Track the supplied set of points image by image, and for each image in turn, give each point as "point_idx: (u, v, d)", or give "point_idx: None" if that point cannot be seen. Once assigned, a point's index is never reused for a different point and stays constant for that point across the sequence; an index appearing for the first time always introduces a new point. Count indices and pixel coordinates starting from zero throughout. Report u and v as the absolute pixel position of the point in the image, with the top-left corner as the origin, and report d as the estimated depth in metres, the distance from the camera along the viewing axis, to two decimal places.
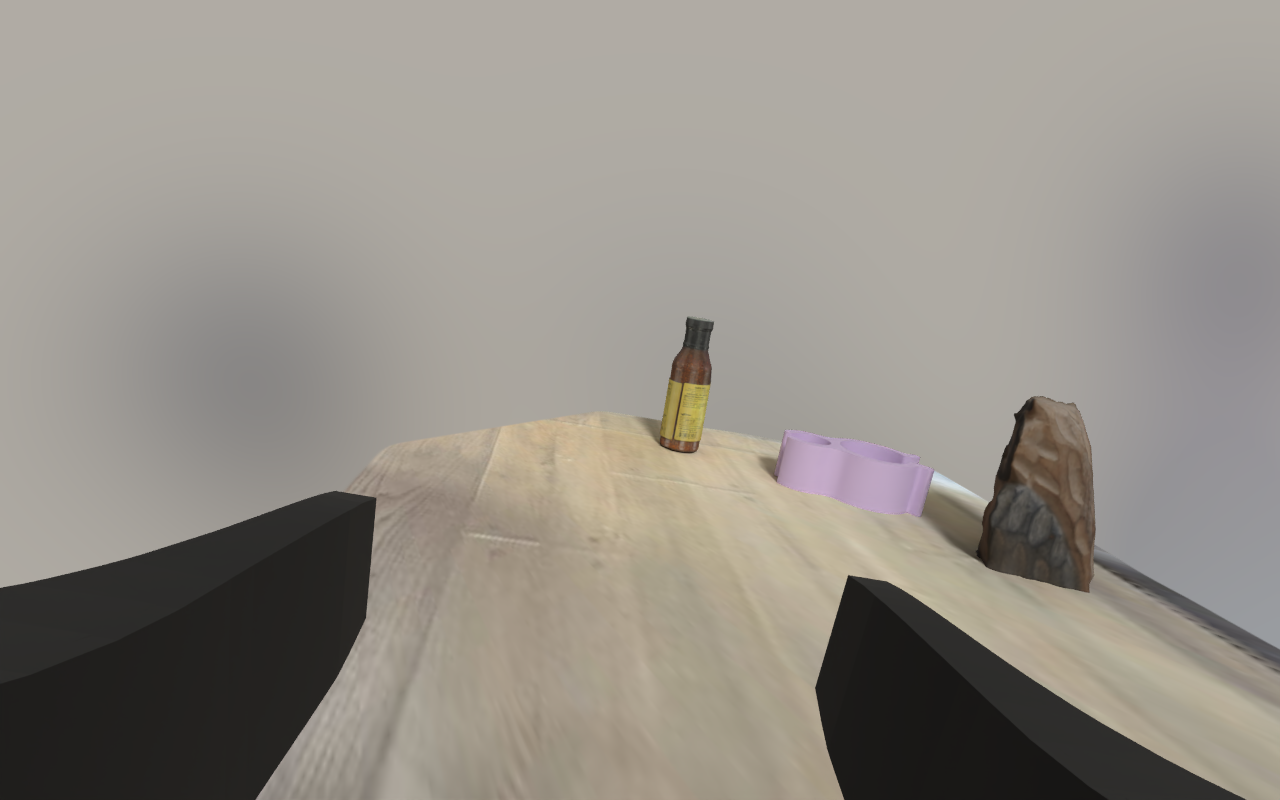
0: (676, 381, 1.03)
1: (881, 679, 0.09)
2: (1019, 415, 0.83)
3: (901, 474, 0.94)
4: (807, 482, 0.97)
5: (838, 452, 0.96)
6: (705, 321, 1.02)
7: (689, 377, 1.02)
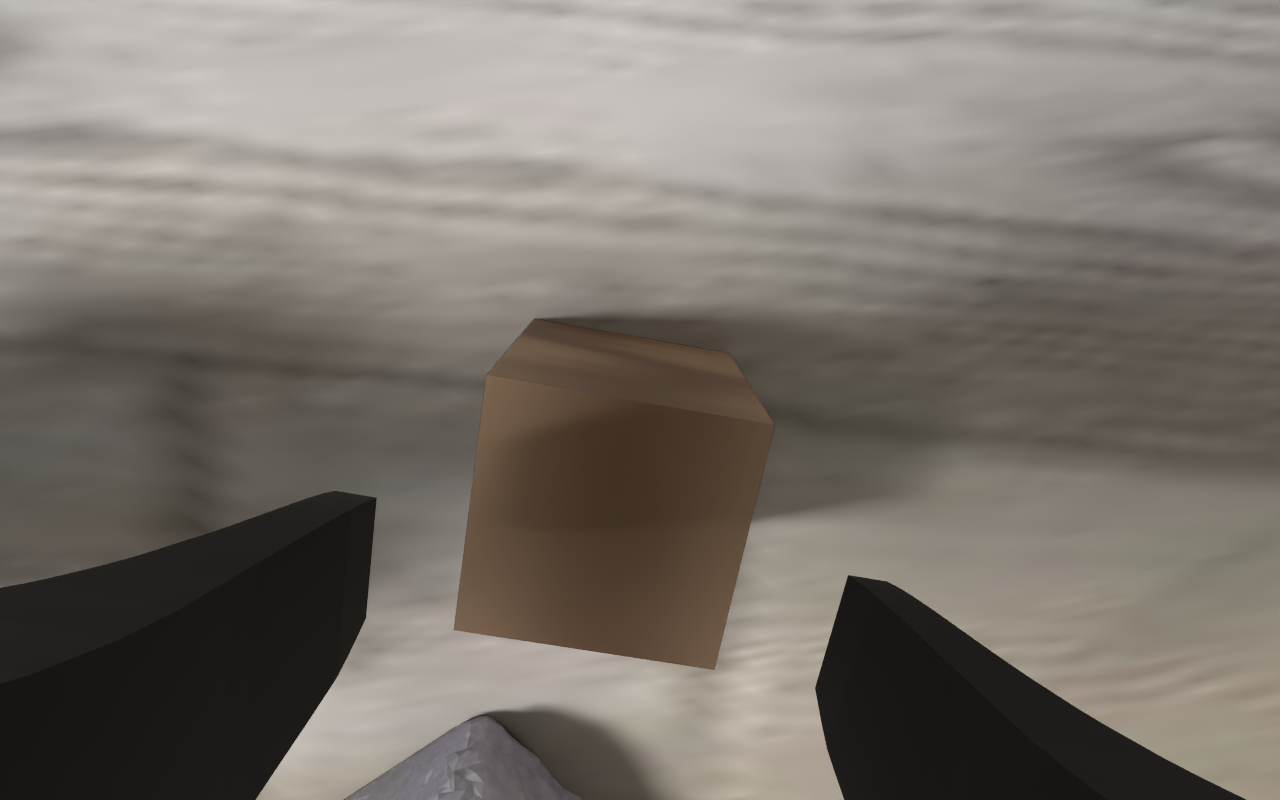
0: None
1: (881, 679, 0.09)
2: None
3: None
4: None
5: None
6: None
7: None
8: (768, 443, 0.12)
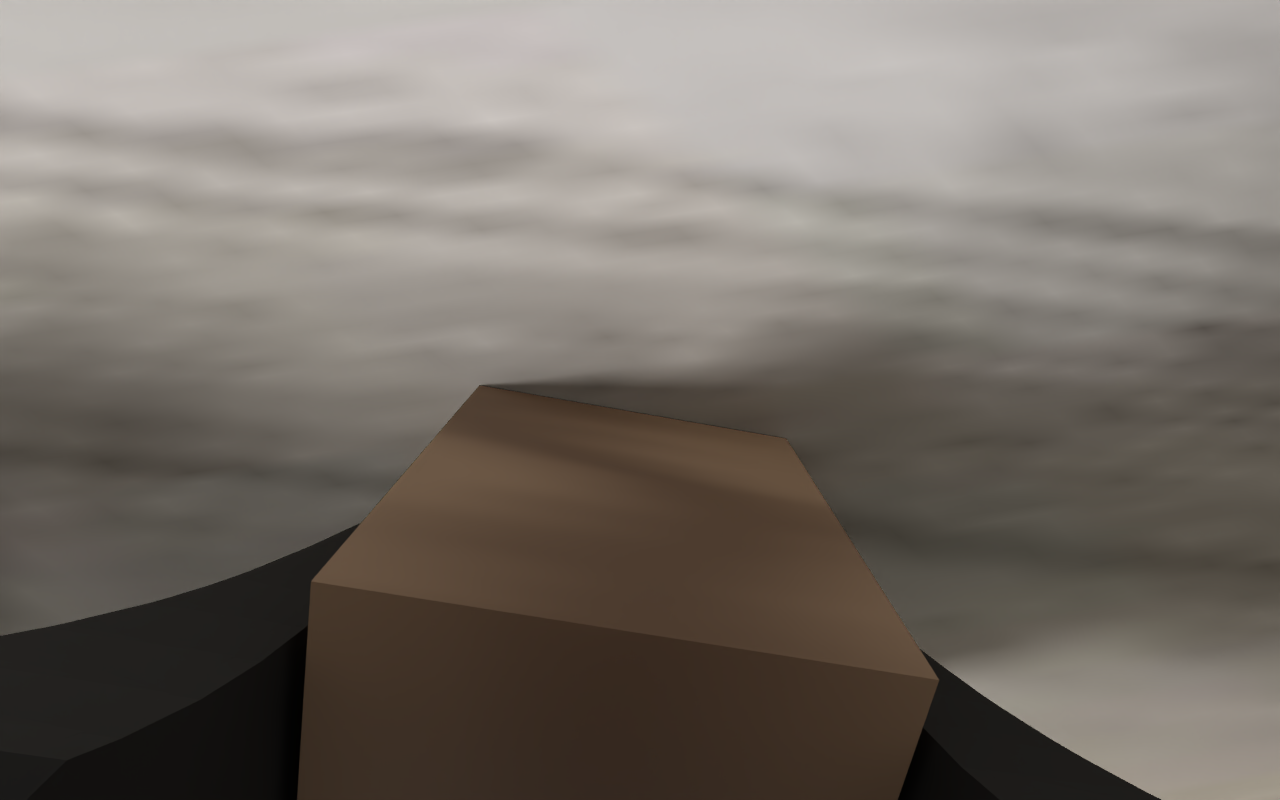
0: None
1: None
2: None
3: None
4: None
5: None
6: None
7: None
8: (923, 716, 0.06)
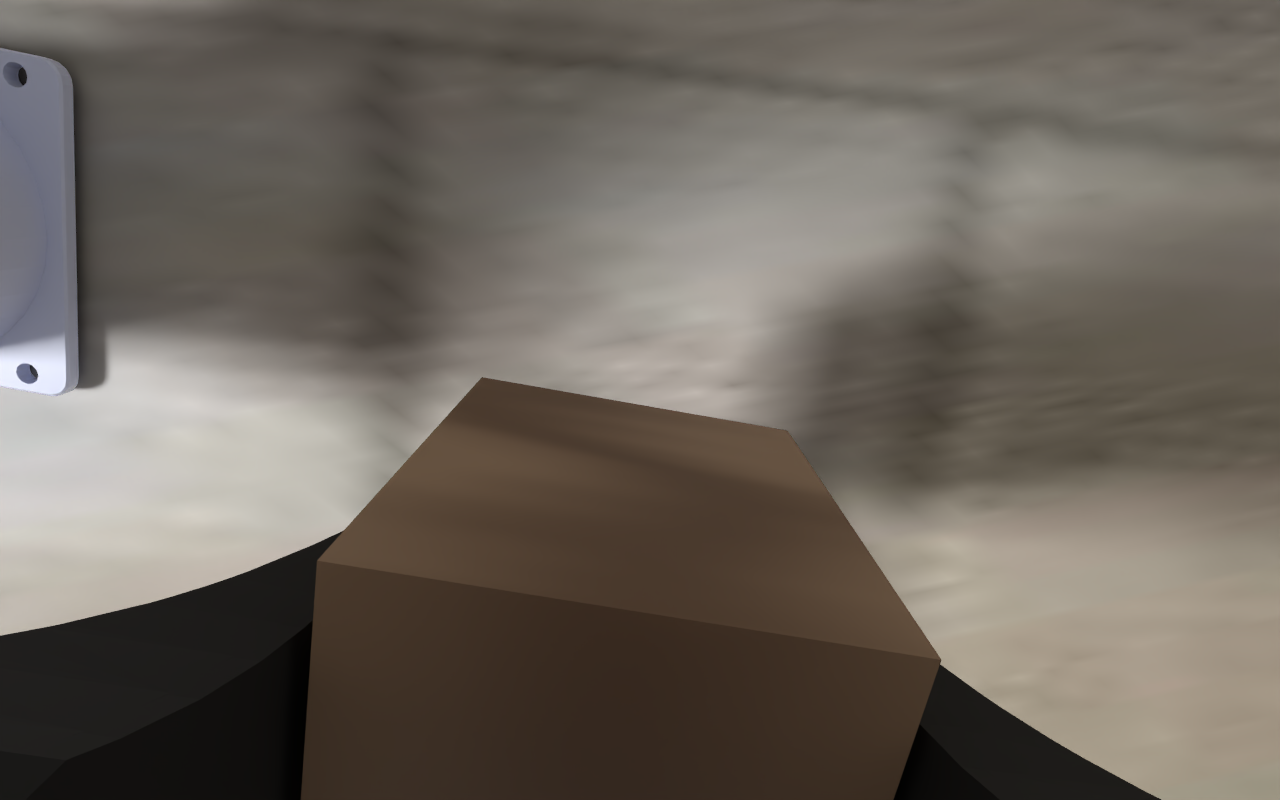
0: None
1: None
2: None
3: None
4: None
5: None
6: None
7: None
8: (925, 695, 0.06)
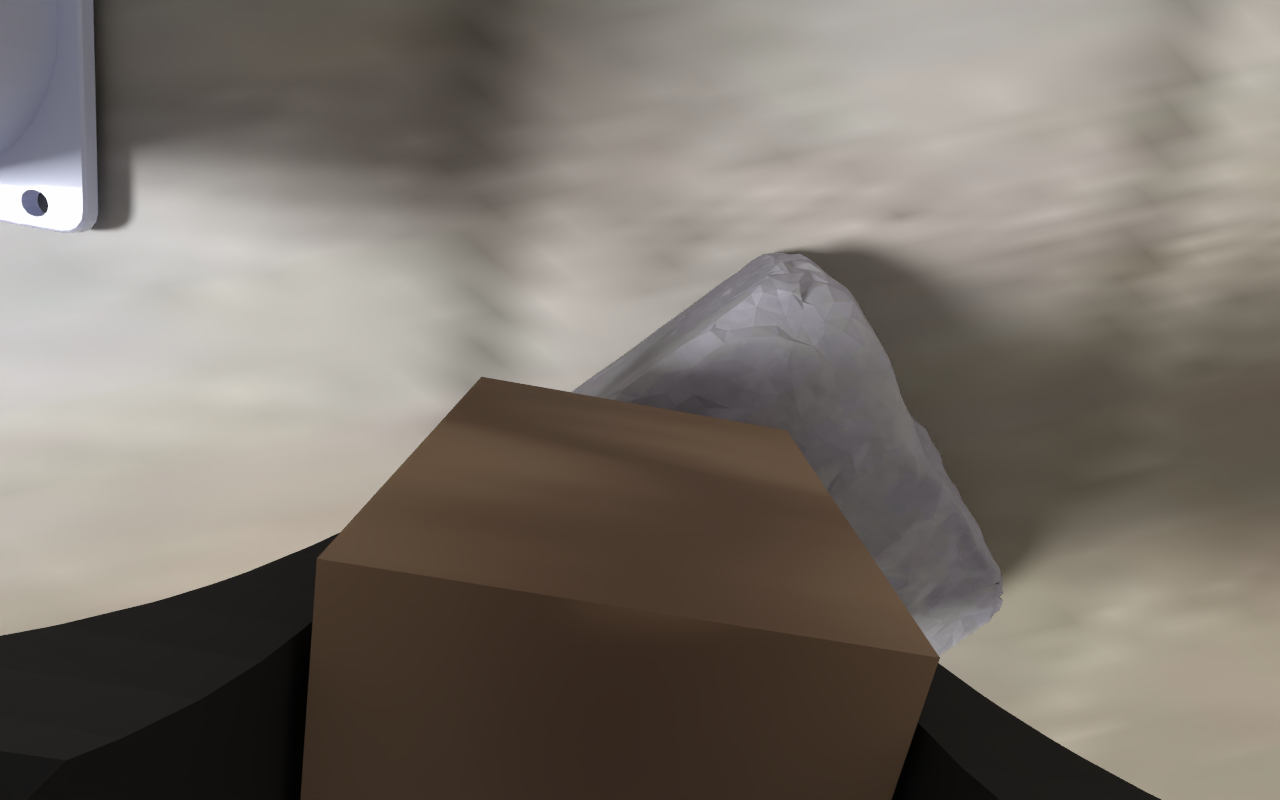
0: None
1: None
2: None
3: None
4: None
5: None
6: None
7: None
8: (924, 694, 0.06)
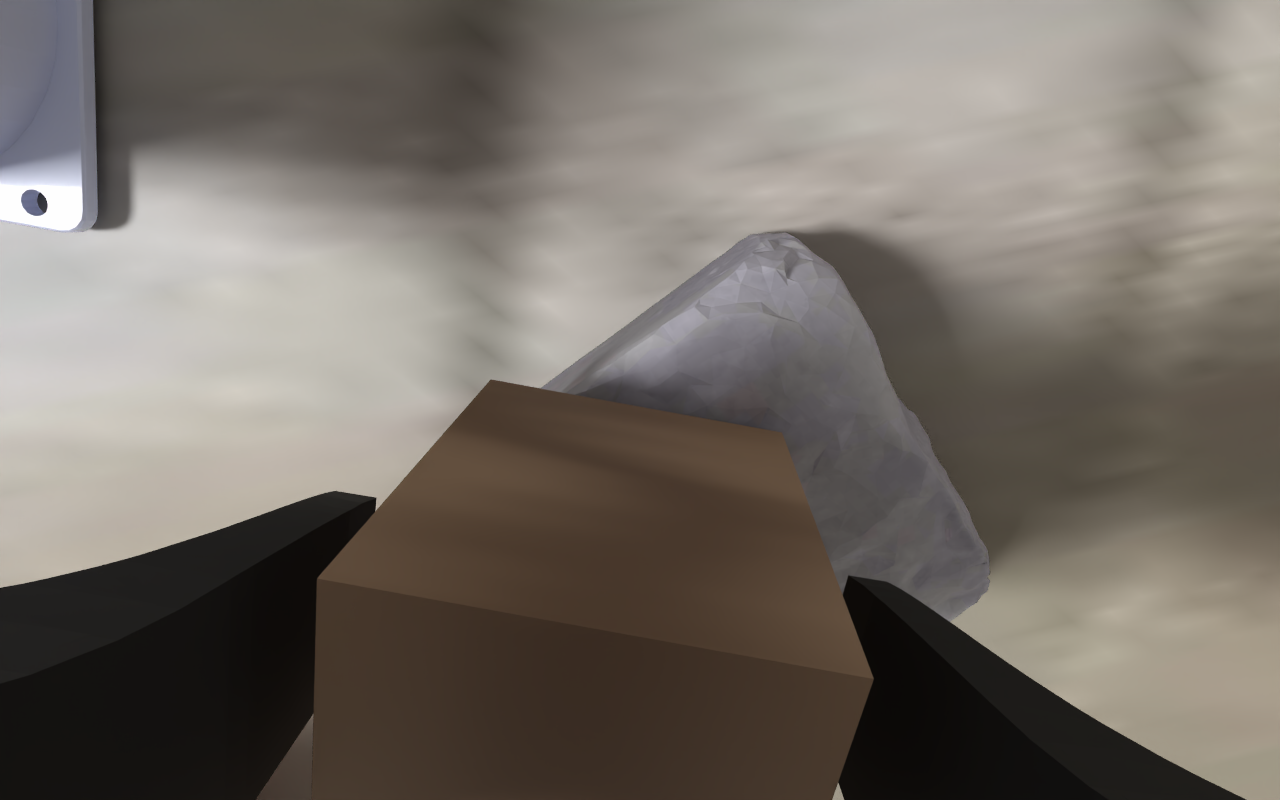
0: None
1: (881, 679, 0.09)
2: None
3: None
4: None
5: None
6: None
7: None
8: (860, 710, 0.06)
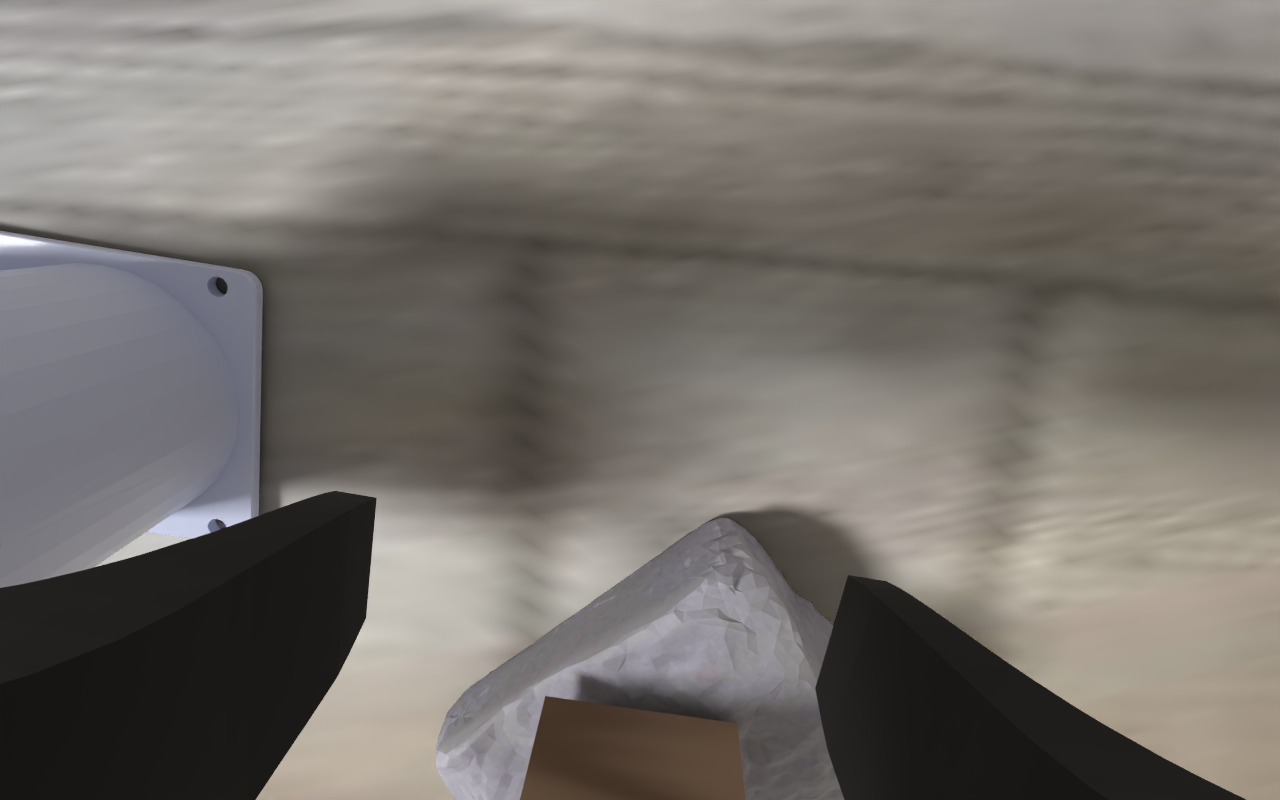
0: None
1: (881, 679, 0.09)
2: None
3: None
4: None
5: None
6: None
7: None
8: None
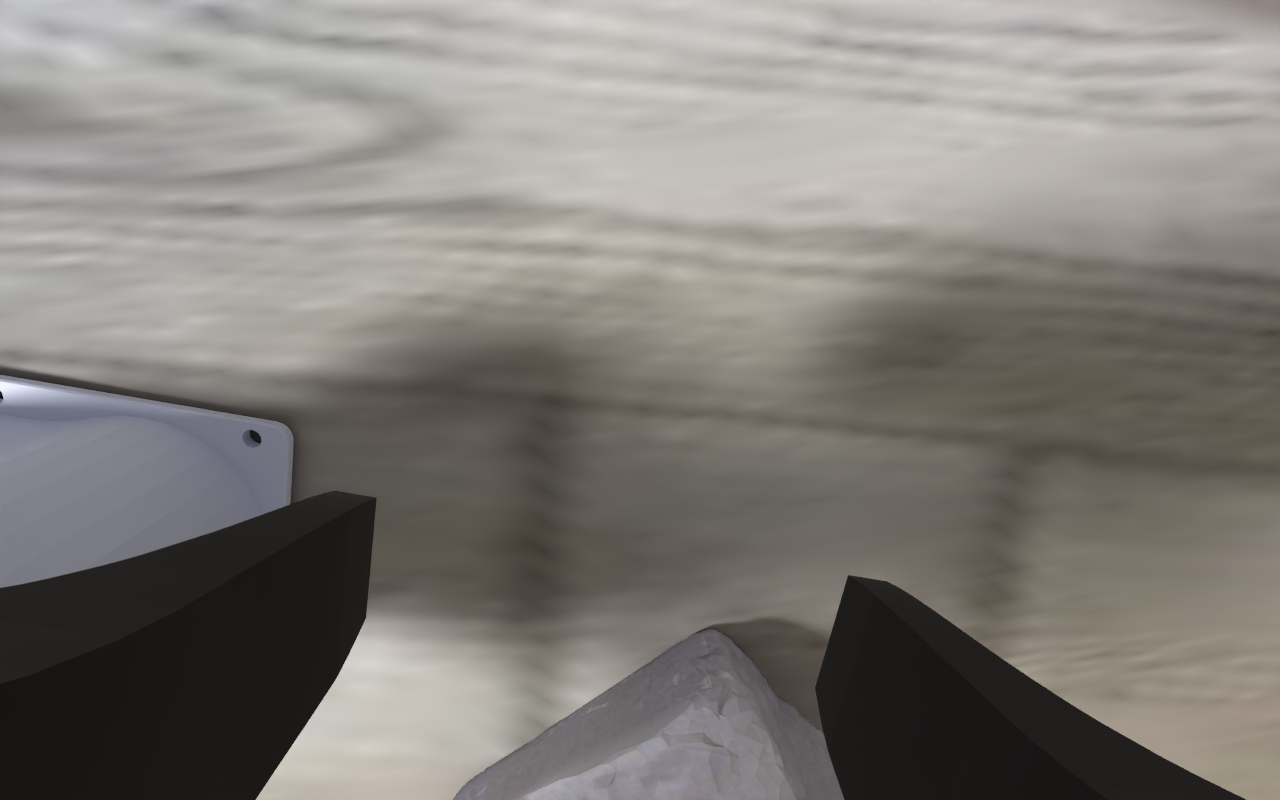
0: None
1: (881, 679, 0.09)
2: None
3: None
4: None
5: None
6: None
7: None
8: None
